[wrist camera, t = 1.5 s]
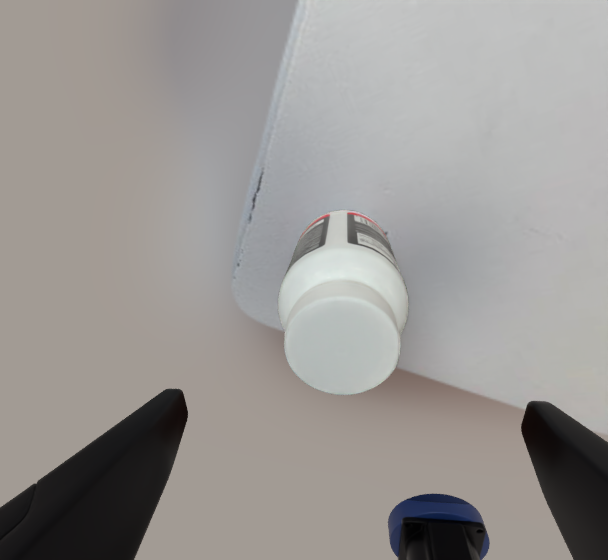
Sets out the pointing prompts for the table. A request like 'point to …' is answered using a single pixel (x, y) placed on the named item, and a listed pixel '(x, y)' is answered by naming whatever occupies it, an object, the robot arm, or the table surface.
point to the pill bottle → (343, 305)
